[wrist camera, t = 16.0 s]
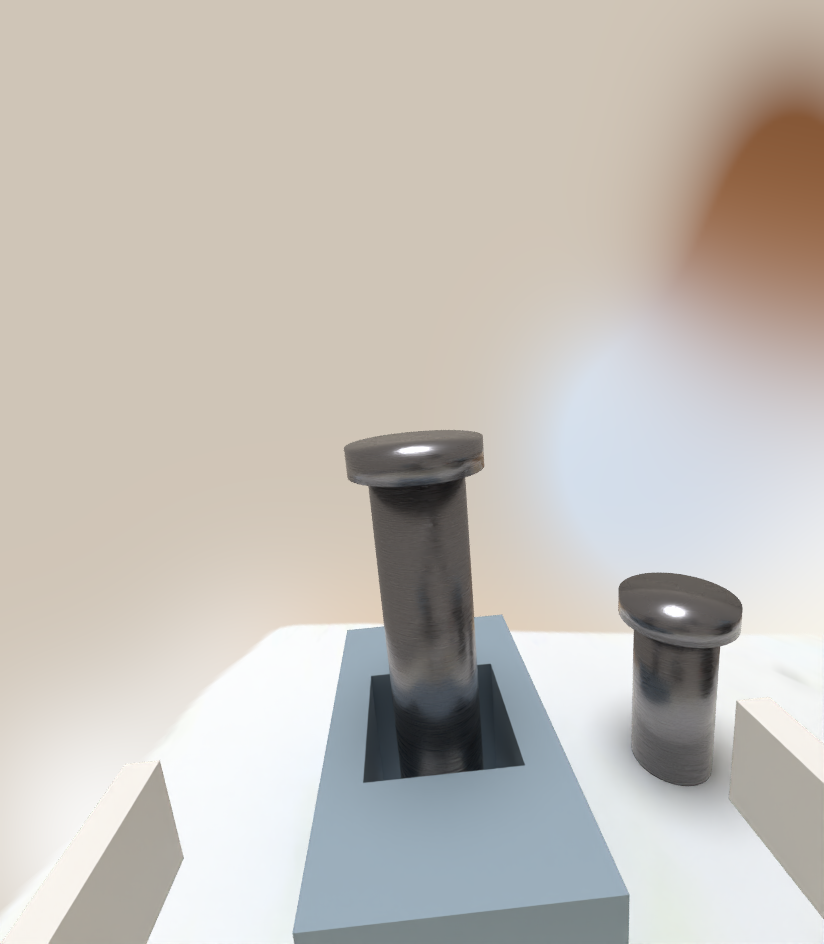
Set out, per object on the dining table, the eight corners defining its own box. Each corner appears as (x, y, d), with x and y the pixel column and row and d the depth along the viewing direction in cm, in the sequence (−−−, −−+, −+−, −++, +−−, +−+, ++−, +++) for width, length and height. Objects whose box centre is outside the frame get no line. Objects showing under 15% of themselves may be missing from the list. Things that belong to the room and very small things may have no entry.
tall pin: (526, 825, 23) (509, 431, 18) (459, 929, 19) (418, 457, 14) (439, 767, 26) (409, 429, 22) (369, 842, 22) (315, 449, 18)
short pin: (737, 747, 26) (750, 588, 24) (718, 821, 22) (732, 638, 20) (634, 705, 30) (637, 565, 28) (602, 762, 26) (603, 603, 24)
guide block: (626, 1058, 15) (629, 895, 13) (323, 1095, 15) (292, 933, 13) (506, 708, 30) (501, 614, 29) (359, 723, 30) (347, 630, 29)
